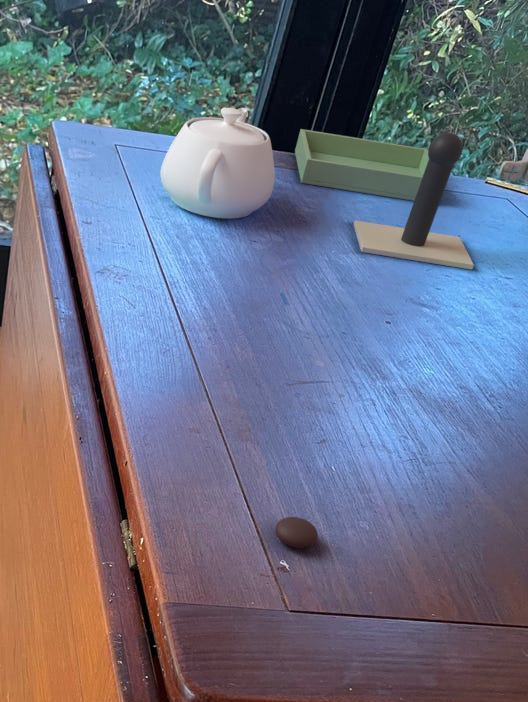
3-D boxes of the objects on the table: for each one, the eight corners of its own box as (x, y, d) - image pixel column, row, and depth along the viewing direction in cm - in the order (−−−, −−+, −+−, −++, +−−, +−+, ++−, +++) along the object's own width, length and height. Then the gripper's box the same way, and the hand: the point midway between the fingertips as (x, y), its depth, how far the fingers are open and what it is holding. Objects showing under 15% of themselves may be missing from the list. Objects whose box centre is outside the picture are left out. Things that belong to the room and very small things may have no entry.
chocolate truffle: (266, 542, 70) (272, 524, 69) (281, 523, 72) (287, 505, 71) (305, 559, 69) (312, 541, 68) (319, 539, 71) (326, 521, 70)
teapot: (252, 245, 113) (277, 144, 106) (136, 218, 115) (154, 118, 108) (279, 189, 129) (303, 98, 122) (178, 167, 131) (195, 76, 124)
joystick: (458, 241, 122) (501, 131, 113) (472, 269, 115) (518, 154, 107) (353, 224, 122) (388, 113, 114) (361, 252, 116) (398, 135, 107)
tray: (420, 171, 142) (428, 149, 140) (436, 204, 132) (445, 181, 130) (294, 151, 143) (300, 128, 141) (301, 183, 132) (307, 159, 130)
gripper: (596, 138, 123) (493, 127, 121) (690, 198, 108) (574, 186, 106) (572, 190, 127) (472, 181, 125) (659, 255, 112) (547, 246, 110)
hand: (519, 184), depth 115 cm, fingers open, 8 cm apart
